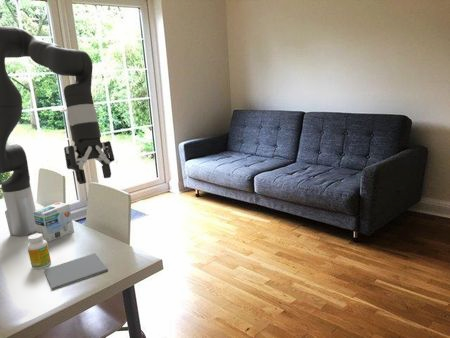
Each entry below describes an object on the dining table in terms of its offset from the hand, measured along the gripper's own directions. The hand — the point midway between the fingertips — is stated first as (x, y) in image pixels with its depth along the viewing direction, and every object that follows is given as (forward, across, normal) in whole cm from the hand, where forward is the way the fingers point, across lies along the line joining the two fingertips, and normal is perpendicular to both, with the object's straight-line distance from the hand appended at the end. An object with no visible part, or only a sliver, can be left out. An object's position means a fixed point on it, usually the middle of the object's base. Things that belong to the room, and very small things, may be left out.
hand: (95, 180), depth 103 cm
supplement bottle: (+23, +5, -26) cm, 35 cm away
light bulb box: (+19, -12, -42) cm, 47 cm away
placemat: (+25, +3, -12) cm, 28 cm away
